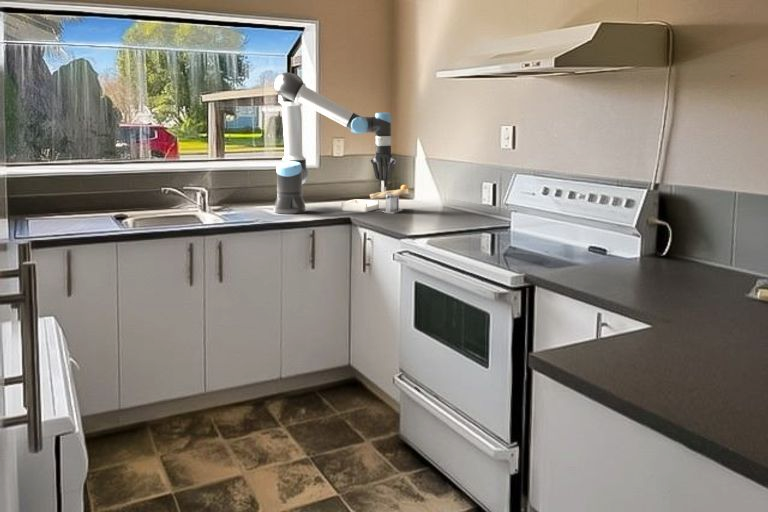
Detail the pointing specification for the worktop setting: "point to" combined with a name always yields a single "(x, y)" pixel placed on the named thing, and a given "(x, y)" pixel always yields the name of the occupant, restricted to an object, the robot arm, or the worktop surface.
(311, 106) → the robot arm
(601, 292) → the worktop surface
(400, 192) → the lever
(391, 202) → the stand
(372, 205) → the dish
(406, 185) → the ball
